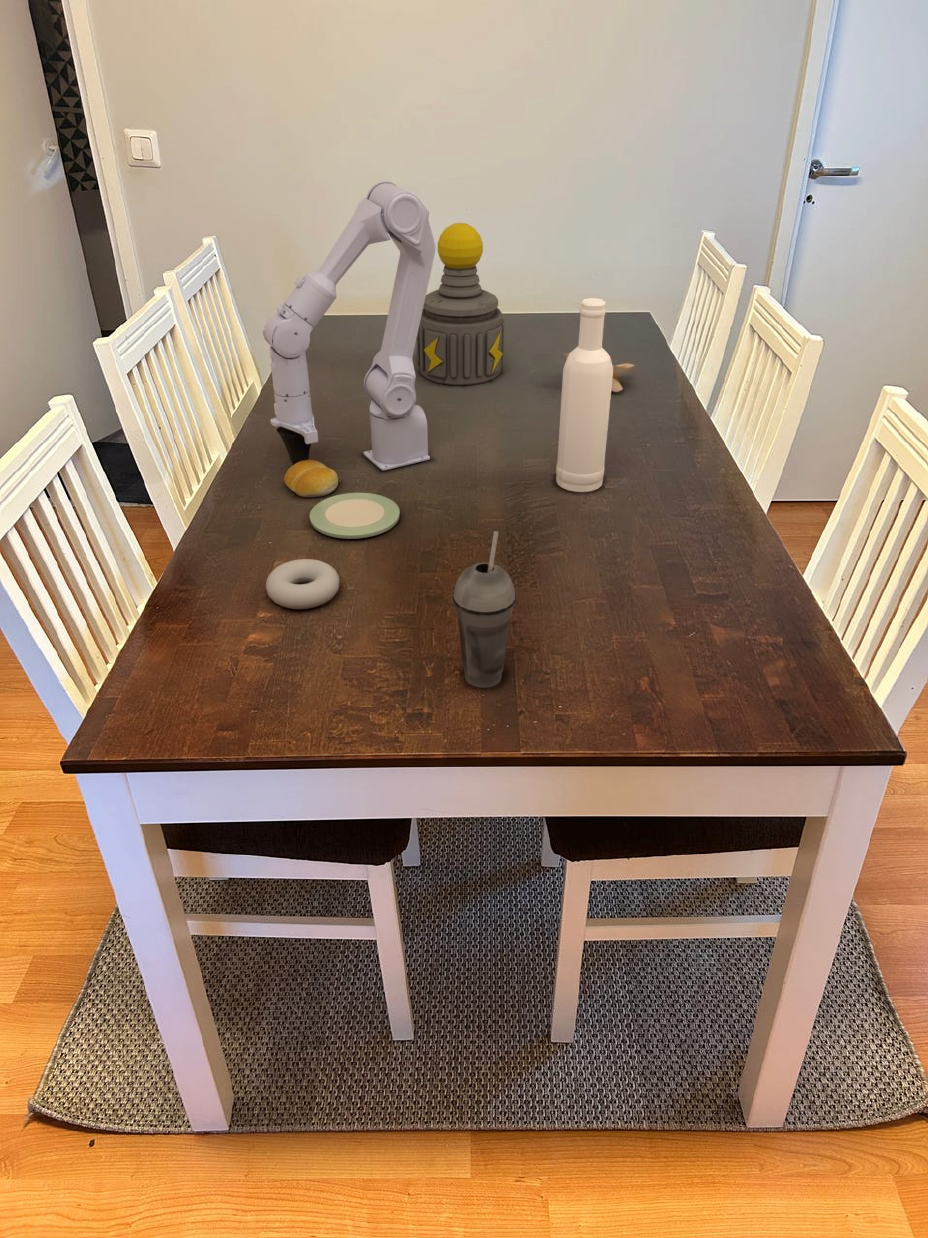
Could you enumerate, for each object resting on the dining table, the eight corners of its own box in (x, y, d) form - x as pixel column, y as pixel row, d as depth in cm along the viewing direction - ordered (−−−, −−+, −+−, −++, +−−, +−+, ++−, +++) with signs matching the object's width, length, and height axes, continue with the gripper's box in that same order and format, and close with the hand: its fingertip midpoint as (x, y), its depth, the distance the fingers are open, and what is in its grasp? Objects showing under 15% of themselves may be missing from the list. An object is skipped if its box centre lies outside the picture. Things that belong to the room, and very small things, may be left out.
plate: (376, 491, 153) (376, 484, 153) (415, 527, 143) (415, 520, 143) (296, 511, 148) (295, 504, 147) (331, 550, 138) (331, 543, 137)
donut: (258, 586, 130) (280, 621, 122) (254, 565, 128) (277, 599, 120) (325, 569, 134) (351, 602, 126) (323, 548, 132) (349, 580, 124)
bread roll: (307, 504, 150) (304, 481, 147) (278, 484, 155) (275, 463, 153) (349, 489, 154) (347, 467, 152) (320, 470, 160) (318, 449, 157)
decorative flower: (650, 374, 193) (647, 330, 186) (627, 404, 187) (623, 359, 180) (585, 366, 200) (580, 323, 193) (561, 393, 194) (555, 350, 187)
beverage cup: (451, 659, 116) (449, 517, 104) (509, 656, 116) (514, 515, 105) (455, 696, 110) (454, 550, 98) (516, 693, 110) (522, 547, 99)
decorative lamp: (451, 351, 210) (450, 208, 193) (520, 368, 201) (526, 220, 184) (398, 374, 198) (392, 225, 181) (470, 394, 189) (471, 238, 172)
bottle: (612, 481, 156) (630, 300, 139) (584, 497, 152) (599, 311, 134) (574, 467, 161) (587, 290, 144) (545, 482, 156) (556, 301, 139)
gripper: (253, 380, 153) (263, 456, 161) (284, 410, 143) (293, 489, 151) (293, 373, 156) (301, 448, 164) (327, 401, 146) (334, 480, 154)
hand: (300, 467), depth 157 cm, fingers closed
